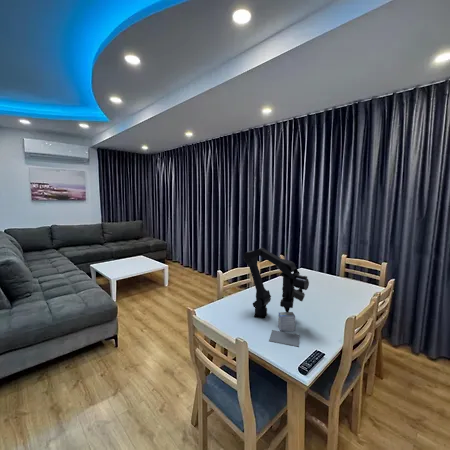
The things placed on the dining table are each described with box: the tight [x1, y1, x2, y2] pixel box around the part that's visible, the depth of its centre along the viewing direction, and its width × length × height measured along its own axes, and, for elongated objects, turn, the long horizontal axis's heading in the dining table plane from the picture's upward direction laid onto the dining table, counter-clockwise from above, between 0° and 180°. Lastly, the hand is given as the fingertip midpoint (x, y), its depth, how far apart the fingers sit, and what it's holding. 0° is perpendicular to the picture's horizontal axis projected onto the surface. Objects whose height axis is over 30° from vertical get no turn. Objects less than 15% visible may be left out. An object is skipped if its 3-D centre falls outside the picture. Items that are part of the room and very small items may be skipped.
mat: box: [268, 329, 301, 348], centre depth 120 cm, size 14×10×1 cm
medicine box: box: [277, 311, 296, 332], centre depth 128 cm, size 8×4×9 cm, turn 92°
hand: (287, 312), depth 131 cm, fingers closed
